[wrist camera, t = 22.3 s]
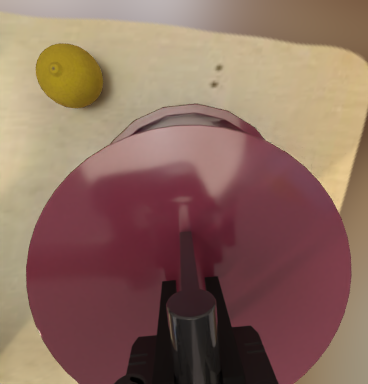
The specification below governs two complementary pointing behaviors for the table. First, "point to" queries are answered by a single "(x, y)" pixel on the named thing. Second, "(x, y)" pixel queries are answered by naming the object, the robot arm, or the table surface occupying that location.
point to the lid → (187, 254)
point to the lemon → (69, 75)
